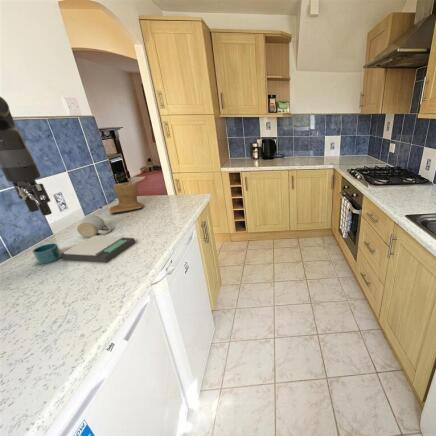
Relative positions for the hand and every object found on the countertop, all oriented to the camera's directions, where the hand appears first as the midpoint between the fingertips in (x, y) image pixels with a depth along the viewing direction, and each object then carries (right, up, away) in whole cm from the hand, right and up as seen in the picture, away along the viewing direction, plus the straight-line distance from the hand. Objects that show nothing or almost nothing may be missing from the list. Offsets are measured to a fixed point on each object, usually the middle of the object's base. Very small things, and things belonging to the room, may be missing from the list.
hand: (41, 212), depth 81 cm
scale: (+11, -14, +12) cm, 22 cm away
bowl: (-4, -17, +7) cm, 19 cm away
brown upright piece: (-6, +3, +53) cm, 53 cm away
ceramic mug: (-2, -9, +26) cm, 28 cm away
